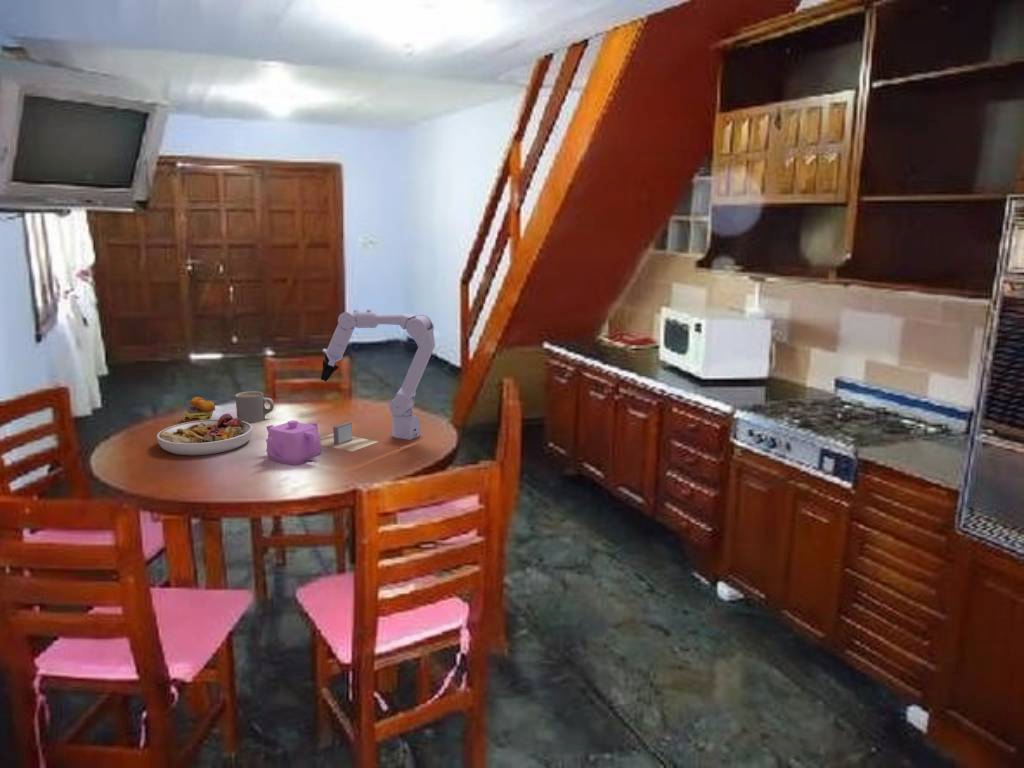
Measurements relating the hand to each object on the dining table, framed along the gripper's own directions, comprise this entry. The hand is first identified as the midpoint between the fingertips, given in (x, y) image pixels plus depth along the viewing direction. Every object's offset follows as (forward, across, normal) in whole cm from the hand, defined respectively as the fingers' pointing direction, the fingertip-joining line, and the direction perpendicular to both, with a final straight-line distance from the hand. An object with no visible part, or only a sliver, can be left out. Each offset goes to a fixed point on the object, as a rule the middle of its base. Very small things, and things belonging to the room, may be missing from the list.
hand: (324, 376), depth 263 cm
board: (+14, +18, +14) cm, 27 cm away
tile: (+13, +18, +13) cm, 26 cm away
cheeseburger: (+43, -20, -34) cm, 59 cm away
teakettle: (+19, +30, -1) cm, 36 cm away
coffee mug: (+34, -18, -16) cm, 42 cm away
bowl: (+34, +12, -27) cm, 46 cm away
